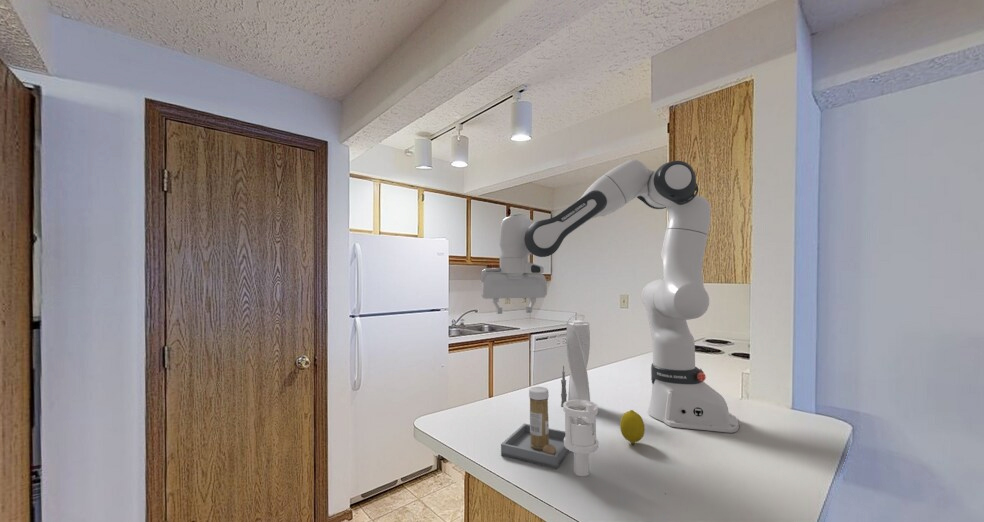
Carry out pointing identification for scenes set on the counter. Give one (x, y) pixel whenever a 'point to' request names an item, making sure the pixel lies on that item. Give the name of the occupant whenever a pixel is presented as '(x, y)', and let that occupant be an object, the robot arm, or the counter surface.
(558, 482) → the counter surface
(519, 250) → the robot arm
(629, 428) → the lemon
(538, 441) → the sprinkles bottle
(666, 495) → the counter surface
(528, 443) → the tray
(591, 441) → the white hollow mechanical part
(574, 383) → the skyscraper
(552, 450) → the wooden ball
